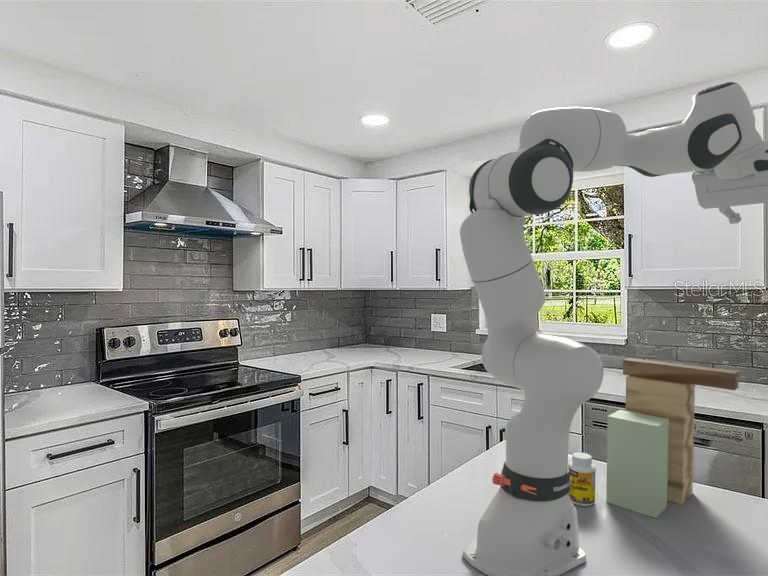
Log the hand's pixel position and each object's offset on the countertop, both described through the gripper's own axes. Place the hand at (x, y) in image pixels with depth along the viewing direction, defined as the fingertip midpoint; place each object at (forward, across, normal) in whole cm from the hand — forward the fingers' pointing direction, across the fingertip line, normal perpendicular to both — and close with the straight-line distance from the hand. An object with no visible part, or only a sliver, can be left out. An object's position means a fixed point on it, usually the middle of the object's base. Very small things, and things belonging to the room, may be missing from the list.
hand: (759, 220), depth 103 cm
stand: (+46, -14, -42) cm, 63 cm away
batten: (+25, -11, -27) cm, 38 cm away
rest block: (+40, -10, -51) cm, 65 cm away
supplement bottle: (+35, -16, -59) cm, 71 cm away
